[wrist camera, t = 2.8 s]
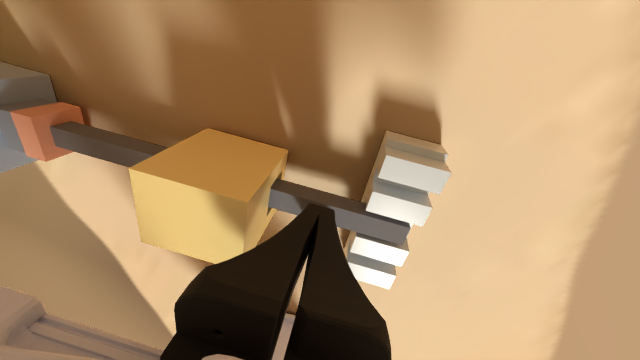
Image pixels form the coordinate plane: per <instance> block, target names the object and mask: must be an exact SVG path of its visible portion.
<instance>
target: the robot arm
mask: <svg viewBox="0 0 640 360" xmlns="http://www.w3.org/2000/svg"><path fill="white" fill-rule="evenodd" d="M307 256H308V259H307ZM306 259H307V265H306V270H305V276H304V281H303V287H302V292H301V297H300V301H299V305H298V309H297V312H296V316H295V315H292V314H288V313H286V311H287V308H288V305H289V302H290V298H291V296H292V293H293V290H294V288H295V285H296V283H297V280H298V278H299V276H300V273H301V271H302V268H303V266H304V263H305V261H306ZM174 312H175V322H176V331H177V332H176V334H175V335H174V337H173V338H172V340H171V342H170V343H169V344H168V346H167V347H166V349H165V350H161V349H158V348H155V347H152V346H149V345H146V344H142V343H139V342H136V341H133V340H130V339H127V338H124V337H120V336H117V335H114V334H111V333H108V332H105V331H102V330H99V329H96V328H93V327H90V326H87V325H84V324H80V323H77V322H74V321H71V320H68V319H65V318H62V317H59V316H56V315H53V314H49V313H46V310H45V306H44V304H43V303H42V301H41V300H39V299H38V298H37V297H35V296H33V295H31V294H28V293H25V292H21V291H18V290H15V289H12V288H9V287H6V286H4V287H0V360H391V346H390V340H389V335H388V330H387V326H386V322H385V320H384V319H383V318H382V317H381V315H380V314H379V313H378V311H377V310H376V309H375V308H374V306H373V305H372V304H371V303H370V301H369V300H368V298H367V297H366V295H365V294H364V292H363V290H362V289H361V287H360V285H359V283H358V282H357V280H356V278H355V277H354V275H353V273H352V270H351V268H350V266H349V264H348V262H347V259H346V257H345V254H344V252H343V249H342V246H341V243H340V239H339V235H338V231H337V227H336V221H335V211H334V209H330V208H327V207H323V206H320V205H316V204H313V203H309V204H307V206H306V207H305V208H304V210H303V211H302V212H301V213H300V214H299V215H298V216H297V217H296V218H295V219H294V220H293V221H292V222H291V223H289V224H288V225H287V226H286V227H285V228H283V229H282V230H281V231H280V232H278V233H277V234H276V235H274V236H273V237H271V238H270V239H268V240H267V241H265V242H263V243H262V244H260V245H258V246H256V247H255V248H253V249H251V250H249V251H247V252H245V253H242V254H240V255H238V256H236V257H234V258H231V259H229V260H226V261H223V262H220V263H217V264H214V265H211V266H208V267H205V268H204V269H203V270H202V271H201V272H200V273H199V274H198V275H197V276H196V278H195V279H194V280H193V281H192V282H191V283H190V284H189V285H188V287H187V288H186V289H185V291H184V292H183V293H182V295H181V296H180V297H179V299H178V300H177V302H176V303H175V308H174Z"/></svg>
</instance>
